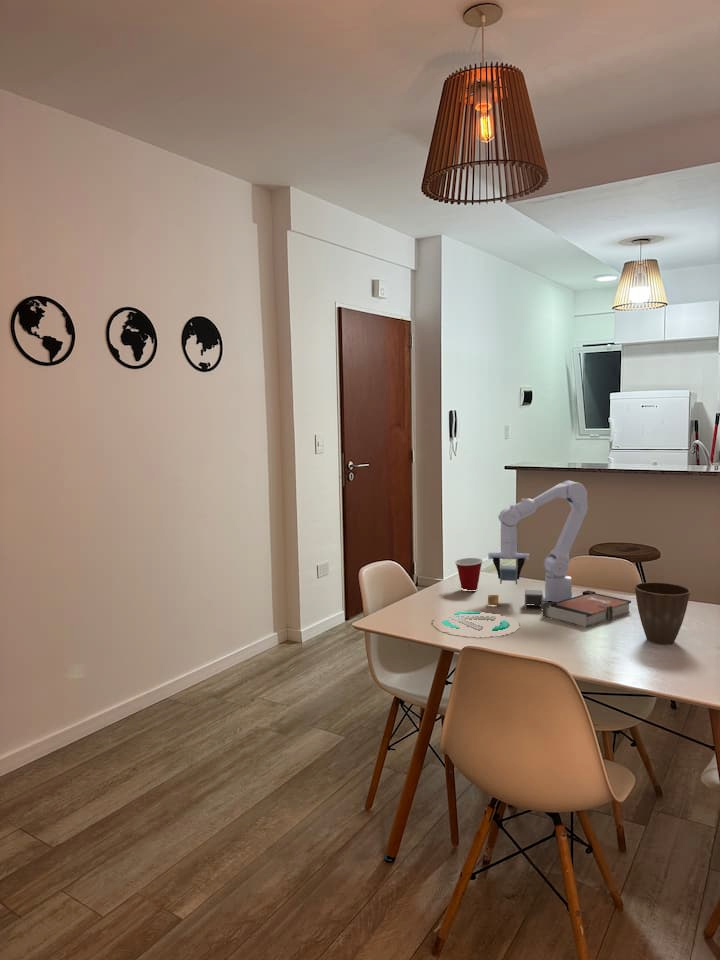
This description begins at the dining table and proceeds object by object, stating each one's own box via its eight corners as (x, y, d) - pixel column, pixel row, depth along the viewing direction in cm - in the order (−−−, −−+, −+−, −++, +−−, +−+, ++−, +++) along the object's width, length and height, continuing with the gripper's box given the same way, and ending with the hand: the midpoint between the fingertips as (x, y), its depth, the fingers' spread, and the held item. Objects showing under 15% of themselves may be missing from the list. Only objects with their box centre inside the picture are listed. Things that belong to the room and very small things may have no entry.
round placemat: (452, 609, 240) (452, 604, 240) (530, 620, 226) (530, 615, 226) (417, 631, 216) (417, 626, 216) (502, 645, 202) (502, 639, 202)
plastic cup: (451, 587, 268) (450, 558, 267) (477, 586, 270) (476, 556, 269) (459, 594, 257) (459, 563, 256) (486, 593, 259) (486, 562, 258)
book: (588, 629, 214) (588, 614, 214) (542, 617, 228) (542, 603, 228) (632, 614, 231) (633, 599, 230) (587, 603, 244) (587, 590, 244)
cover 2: (542, 605, 241) (542, 590, 241) (542, 610, 235) (542, 594, 235) (524, 604, 242) (524, 589, 242) (524, 609, 237) (525, 594, 236)
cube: (498, 604, 243) (498, 595, 243) (497, 607, 240) (498, 597, 240) (488, 604, 244) (488, 594, 244) (487, 606, 241) (487, 597, 240)
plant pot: (642, 629, 212) (643, 579, 211) (694, 639, 203) (695, 586, 201) (626, 642, 201) (627, 589, 199) (680, 652, 191) (682, 597, 190)
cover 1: (517, 580, 250) (517, 565, 249) (517, 584, 244) (517, 569, 243) (500, 580, 251) (500, 565, 250) (500, 583, 245) (500, 569, 245)
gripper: (488, 543, 244) (488, 580, 245) (529, 544, 241) (529, 581, 242) (488, 539, 251) (488, 575, 252) (528, 540, 247) (528, 577, 249)
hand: (508, 578), depth 247 cm, fingers closed on cover 1, 6 cm apart
